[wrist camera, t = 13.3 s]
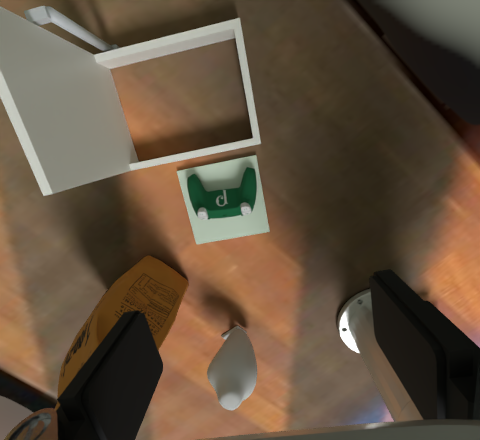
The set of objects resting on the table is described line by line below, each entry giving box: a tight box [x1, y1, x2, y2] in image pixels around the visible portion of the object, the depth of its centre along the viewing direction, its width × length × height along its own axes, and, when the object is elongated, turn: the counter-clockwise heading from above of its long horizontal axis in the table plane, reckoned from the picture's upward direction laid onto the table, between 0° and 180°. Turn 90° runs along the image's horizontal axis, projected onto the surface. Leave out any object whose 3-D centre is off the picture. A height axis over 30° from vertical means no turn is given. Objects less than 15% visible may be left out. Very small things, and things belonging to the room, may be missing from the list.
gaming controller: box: [187, 167, 257, 220], centre depth 35 cm, size 9×4×6 cm
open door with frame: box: [0, 6, 261, 196], centre depth 25 cm, size 18×14×17 cm
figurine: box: [207, 326, 257, 410], centre depth 39 cm, size 8×5×12 cm
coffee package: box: [55, 255, 189, 410], centre depth 32 cm, size 10×12×22 cm
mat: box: [177, 155, 270, 244], centre depth 37 cm, size 11×11×1 cm
